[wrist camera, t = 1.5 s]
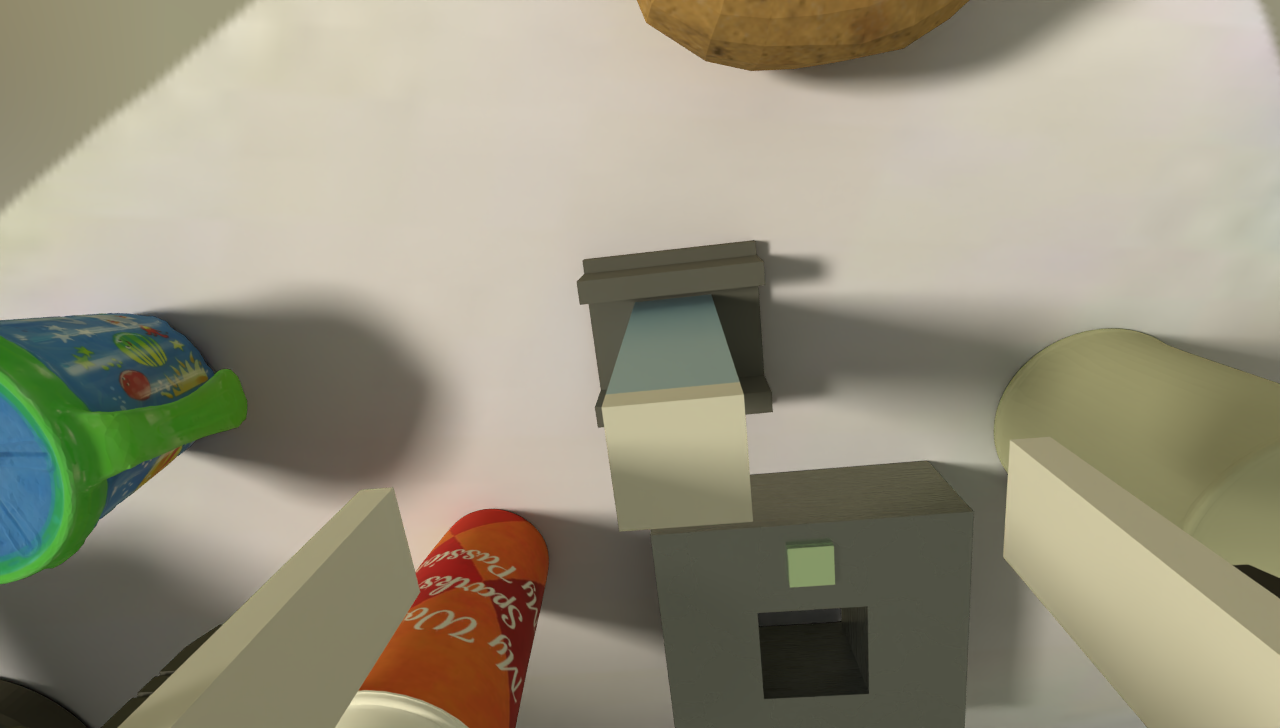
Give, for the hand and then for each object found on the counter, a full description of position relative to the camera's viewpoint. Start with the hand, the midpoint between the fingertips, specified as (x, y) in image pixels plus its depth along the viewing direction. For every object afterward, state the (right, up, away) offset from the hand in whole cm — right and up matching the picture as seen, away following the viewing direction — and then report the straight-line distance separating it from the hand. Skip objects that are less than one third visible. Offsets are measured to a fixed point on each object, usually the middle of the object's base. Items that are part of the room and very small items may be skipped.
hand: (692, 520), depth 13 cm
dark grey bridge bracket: (+1, +5, +17) cm, 17 cm away
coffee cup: (-9, -7, +21) cm, 24 cm away
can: (+21, +1, +17) cm, 27 cm away
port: (+7, -9, +20) cm, 23 cm away
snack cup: (-27, +3, +19) cm, 33 cm away
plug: (+1, +5, +16) cm, 17 cm away
